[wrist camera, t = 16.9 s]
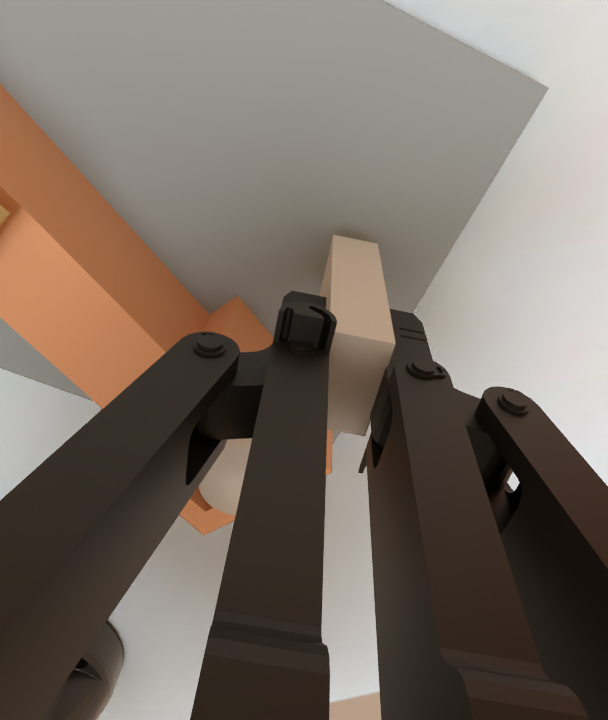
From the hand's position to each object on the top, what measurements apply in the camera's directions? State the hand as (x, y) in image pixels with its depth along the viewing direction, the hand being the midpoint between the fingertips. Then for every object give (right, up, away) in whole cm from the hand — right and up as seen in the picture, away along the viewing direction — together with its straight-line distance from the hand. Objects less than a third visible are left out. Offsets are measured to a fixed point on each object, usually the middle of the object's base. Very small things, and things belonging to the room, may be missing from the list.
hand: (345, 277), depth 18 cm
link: (-8, 0, +3) cm, 8 cm away
